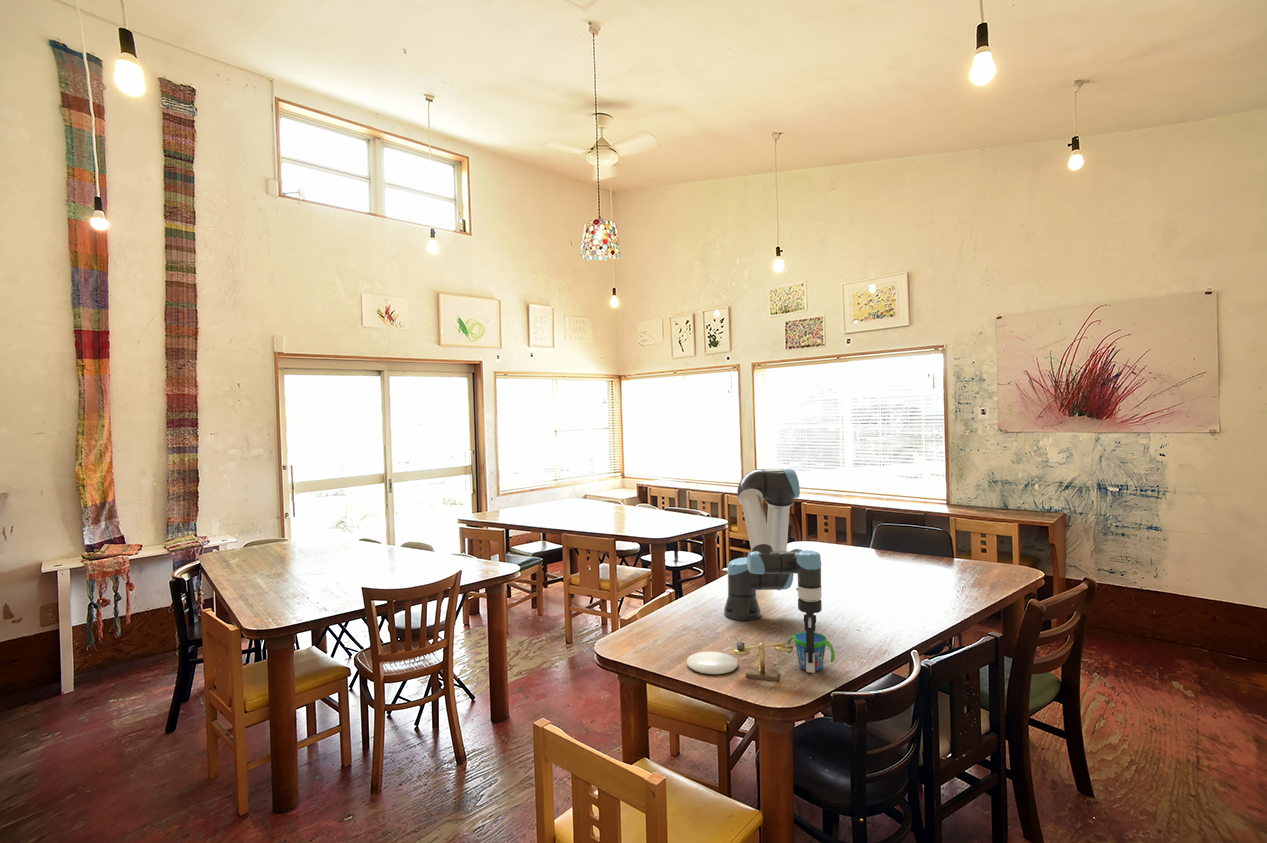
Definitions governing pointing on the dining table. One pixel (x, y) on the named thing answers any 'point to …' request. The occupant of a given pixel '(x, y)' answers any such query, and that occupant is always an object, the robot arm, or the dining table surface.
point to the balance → (761, 659)
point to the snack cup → (818, 648)
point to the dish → (712, 662)
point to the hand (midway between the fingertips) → (810, 665)
